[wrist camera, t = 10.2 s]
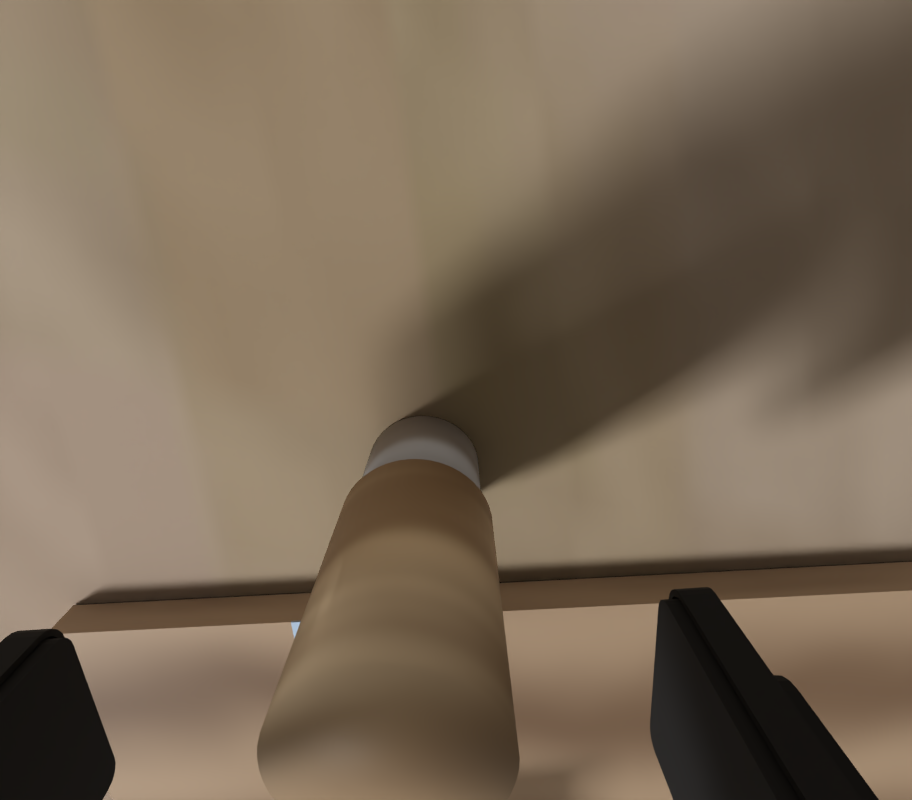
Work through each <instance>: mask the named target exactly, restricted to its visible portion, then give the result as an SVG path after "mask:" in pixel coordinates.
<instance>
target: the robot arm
mask: <svg viewBox="0 0 912 800" xmlns="http://www.w3.org/2000/svg"><path fill="white" fill-rule="evenodd" d="M650 734H651V740H652V744H653V748H654V751H655V754H656V756H657V759H658V762H659V764H660V767H661V769H662V772H663V775H664V777H665V780H666V782H667V785H668V787H669V790H670V793H671V795H672V798H673V800H879V799H878V798H877V796H876V795H875V794H874V792H873V791H872V789H871V788H870V787H869V785H868V784H867V783H866V781H865V780H864V779H863V777H862V776H861V775H860V773H859V772H858V770H857V769H856V768H855V766H854V765H853V764H852V762H851V761H850V760H849V758H848V757H847V756H846V754H845V753H844V751H843V750H842V749H841V747H840V746H839V745H838V743H837V742H836V741H835V739H834V738H833V736H832V735H831V734H830V732H829V731H828V730H827V728H826V727H825V726H824V724H823V723H822V722H821V720H820V719H819V717H818V716H817V715H816V713H815V712H814V711H813V709H812V708H811V707H810V705H809V704H808V703H807V701H806V700H805V698H804V697H803V696H802V694H801V693H800V692H799V690H798V689H797V688H796V687H795V686H794V685H793V684H792V682H791V681H790V680H788V679H787V678H785V677H783V676H782V675H773V674H772V672H771V671H770V670H769V668H768V667H767V665H766V664H765V662H764V661H763V660H762V658H761V657H760V655H759V654H758V653H757V651H756V650H755V648H754V647H753V645H752V644H751V643H750V641H749V640H748V638H747V637H746V636H745V634H744V633H743V631H742V630H741V628H740V627H739V626H738V624H737V623H736V621H735V620H734V619H733V617H732V616H731V614H730V613H729V611H728V610H727V609H726V607H725V606H724V604H723V603H722V602H721V600H720V599H719V597H718V596H717V594H716V593H715V592H714V591H713V590H712V589H711V588H709V587H699V588H683V589H673V590H671V592H670V594H669V599H664V600H660V602H659V606H658V619H657V632H656V646H655V660H654V674H653V688H652V702H651V716H650ZM115 766H116V762H115V757H114V754H113V752H112V749H111V746H110V744H109V741H108V738H107V735H106V733H105V730H104V727H103V724H102V722H101V719H100V716H99V713H98V711H97V708H96V705H95V702H94V700H93V697H92V694H91V691H90V689H89V686H88V683H87V680H86V678H85V675H84V672H83V669H82V667H81V664H80V661H79V658H78V656H77V653H76V650H75V647H74V645H73V643H72V641H71V640H70V639H68V638H65V637H64V635H63V633H62V632H61V631H59V630H58V629H41V630H26V631H17V632H14V633H11V634H10V635H9V636H7V637H6V638H5V639H4V640H3V641H1V642H0V800H103V798H104V796H105V794H106V793H107V791H108V789H109V787H110V785H111V783H112V781H113V778H114V774H115Z"/></svg>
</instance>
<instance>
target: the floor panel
mask: <svg viewBox="0 0 912 800" xmlns="http://www.w3.org/2000/svg"><path fill="white" fill-rule="evenodd" d="M499 584H500V593H501V601H502V610H503V618H504V627H505V636H506V644H507V653H508V661H509V670H510V679H511V687H512V696H513V704H514V713H515V722H516V730H517V739H518V747H519V756H520V762H519V772H518V776H517V780H516V783H515V786H514V788H513V790H512V793H511V794H510V796H509V798H508V799H507V800H673V798H672V795H671V793H670V790H669V787H668V785H667V782H666V780H665V777H664V775H663V772H662V769H661V767H660V764H659V762H658V759H657V756H656V754H655V751H654V748H653V744H652V740H651V734H650V716H651V702H652V688H653V674H654V660H655V646H656V632H657V619H658V606H659V602H660V600H664V599H669V594H670V592H671V590H673V589H683V588H699V587H709V588H711V589H712V590H713V591H714V592H715V593H716V594H717V596H718V597H719V599H720V600H721V602H722V603H723V604H724V606H725V607H726V609H727V610H728V611H729V613H730V614H731V616H732V617H733V619H734V620H735V621H736V623H737V624H738V626H739V627H740V628H741V630H742V631H743V633H744V634H745V636H746V637H747V638H748V640H749V641H750V643H751V644H752V645H753V647H754V648H755V650H756V651H757V653H758V654H759V655H760V657H761V658H762V660H763V661H764V662H765V664H766V665H767V667H768V668H769V670H770V671H771V672H772V674H773V675H782V676H783V677H785V678H787V679H788V680H790V681H791V682H792V684H793V685H794V686H795V687H796V688H797V689H798V690H799V692H800V693H801V694H802V696H803V697H804V698H805V700H806V701H807V703H808V704H809V705H810V707H811V708H812V709H813V711H814V712H815V713H816V715H817V716H818V717H819V719H820V720H821V722H822V723H823V724H824V726H825V727H826V728H827V730H828V731H829V732H830V734H831V735H832V736H833V738H834V739H835V741H836V742H837V743H838V745H839V746H840V747H841V749H842V750H843V751H844V753H845V754H846V756H847V757H848V758H849V760H850V761H851V762H852V764H853V765H854V766H855V768H856V769H857V770H858V772H859V773H860V775H861V776H862V777H863V779H864V780H865V781H866V783H867V784H868V785H869V787H870V788H871V789H872V791H873V792H874V794H875V795H876V796H877V798H878V799H879V800H912V562H896V563H877V564H857V565H838V566H819V567H800V568H780V569H761V570H742V571H723V572H704V573H684V574H665V575H646V576H627V577H607V578H588V579H569V580H550V581H530V582H511V583H499ZM310 595H311V593H300V594H280V595H261V596H242V597H223V598H203V599H184V600H165V601H146V602H126V603H107V604H88V605H73V606H72V608H71V609H70V610H69V611H68V612H67V613H66V614H65V615H64V616H63V617H62V618H61V619H60V620H59V621H58V622H57V623H56V624H55V626H54V627H53V628H52V629H58V630H59V631H61V632H62V633H63V635H64V637H65V638H68V639H70V640H71V641H72V643H73V645H74V647H75V650H76V653H77V656H78V658H79V661H80V664H81V667H82V669H83V672H84V675H85V678H86V680H87V683H88V686H89V689H90V691H91V694H92V697H93V700H94V702H95V705H96V708H97V711H98V713H99V716H100V719H101V722H102V724H103V727H104V730H105V733H106V735H107V738H108V741H109V744H110V746H111V749H112V752H113V754H114V757H115V762H116V766H115V774H114V778H113V781H112V783H111V785H110V787H109V789H108V791H109V794H110V797H111V799H112V800H274V799H273V797H272V796H271V795H270V793H269V792H268V790H267V788H266V786H265V784H264V783H263V780H262V777H261V774H260V771H259V767H258V761H257V744H258V739H259V734H260V731H261V728H262V725H263V723H264V720H265V717H266V715H267V712H268V709H269V706H270V704H271V701H272V698H273V696H274V693H275V690H276V687H277V685H278V682H279V679H280V676H281V674H282V671H283V668H284V666H285V663H286V660H287V657H288V655H289V652H290V649H291V647H292V644H293V641H294V638H295V636H296V633H297V630H298V627H299V625H300V622H301V619H302V617H303V614H304V611H305V608H306V606H307V603H308V600H309V597H310Z"/></svg>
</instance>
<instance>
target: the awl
mask: <svg viewBox="0 0 912 800" xmlns="http://www.w3.org/2000/svg"><path fill="white" fill-rule="evenodd" d="M257 761H258V767H259V771H260V774H261V777H262V780H263V783H264V784H265V786H266V788H267V790H268V792H269V793H270V795H271V796H272V797H273V799H274V800H507V799H508V798H509V796H510V794H511V793H512V790H513V788H514V786H515V783H516V780H517V776H518V772H519V762H520V756H519V747H518V739H517V730H516V722H515V713H514V704H513V696H512V687H511V679H510V670H509V661H508V653H507V644H506V636H505V627H504V618H503V610H502V601H501V593H500V584H499V575H498V567H497V558H496V550H495V541H494V532H493V524H492V516H491V512H490V508H489V505H488V503H487V501H486V498H485V497H484V495H483V494H482V492H481V490H480V478H479V467H478V458H477V454H476V451H475V448H474V446H473V444H472V442H471V441H470V439H469V438H468V437H467V435H466V434H465V433H464V432H463V431H462V430H461V429H459V428H458V427H457V426H455V425H454V424H452V423H450V422H448V421H446V420H443V419H440V418H436V417H430V416H415V417H410V418H405V419H403V420H400V421H398V422H396V423H394V424H392V425H391V426H389V427H388V428H387V429H385V430H384V431H383V432H382V433H381V434H380V436H379V437H378V438H377V440H376V442H375V443H374V445H373V448H372V450H371V453H370V456H369V459H368V462H367V465H366V468H365V471H364V474H363V477H362V478H361V479H360V480H359V481H358V482H357V483H356V484H355V486H354V487H353V488H352V489H351V491H350V492H349V494H348V496H347V498H346V500H345V502H344V505H343V508H342V510H341V513H340V516H339V519H338V521H337V524H336V527H335V529H334V532H333V535H332V538H331V540H330V543H329V546H328V548H327V551H326V554H325V557H324V559H323V562H322V565H321V568H320V570H319V573H318V576H317V578H316V581H315V584H314V587H313V589H312V592H311V595H310V597H309V600H308V603H307V606H306V608H305V611H304V614H303V617H302V619H301V622H300V625H299V627H298V630H297V633H296V636H295V638H294V641H293V644H292V647H291V649H290V652H289V655H288V657H287V660H286V663H285V666H284V668H283V671H282V674H281V676H280V679H279V682H278V685H277V687H276V690H275V693H274V696H273V698H272V701H271V704H270V706H269V709H268V712H267V715H266V717H265V720H264V723H263V725H262V728H261V731H260V734H259V739H258V744H257Z"/></svg>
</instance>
